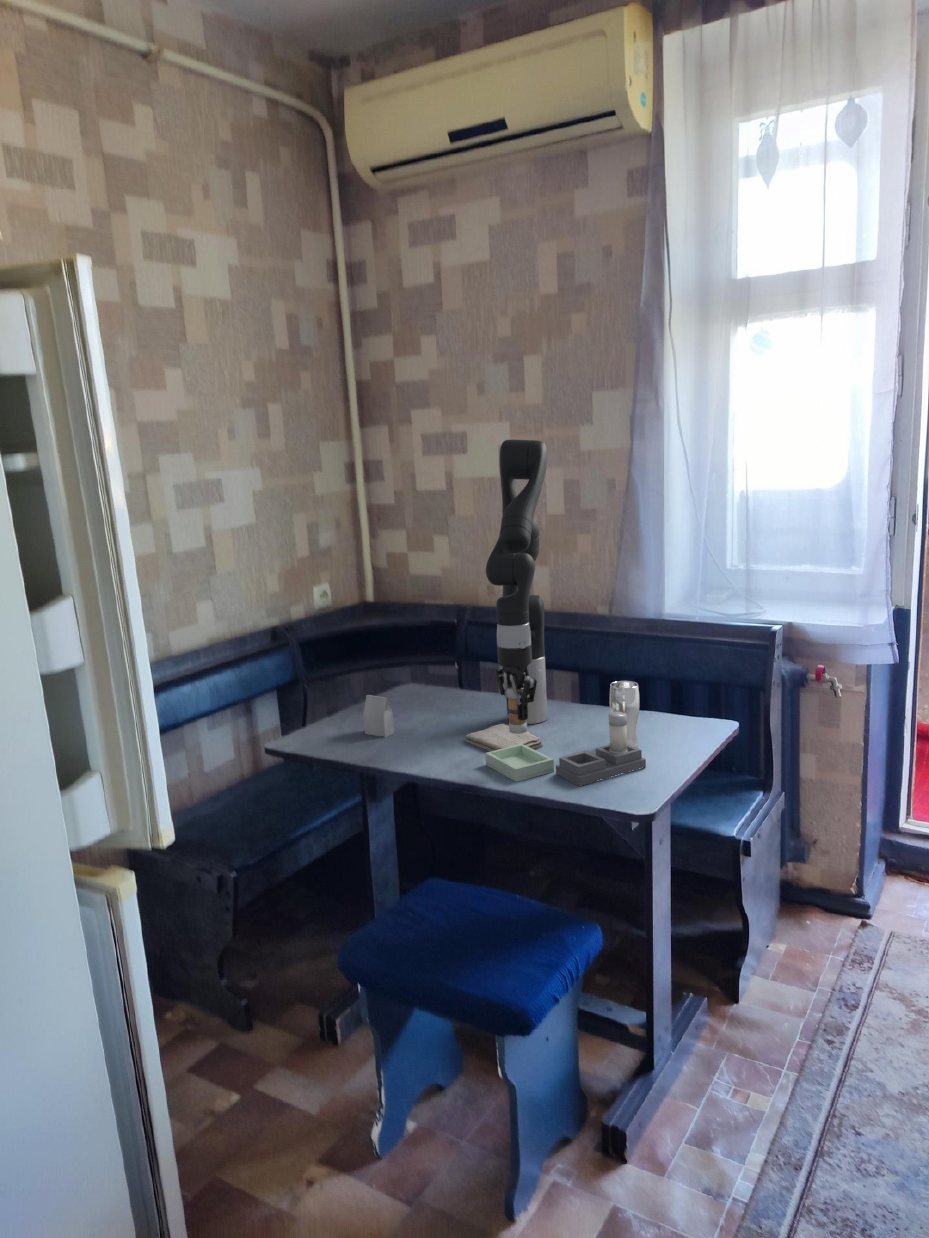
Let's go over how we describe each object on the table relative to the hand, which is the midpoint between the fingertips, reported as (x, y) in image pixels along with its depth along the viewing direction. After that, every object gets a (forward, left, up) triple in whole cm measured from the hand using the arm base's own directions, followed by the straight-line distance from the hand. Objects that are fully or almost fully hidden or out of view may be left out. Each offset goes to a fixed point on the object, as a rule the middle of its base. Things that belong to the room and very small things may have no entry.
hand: (517, 717), depth 203 cm
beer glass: (+2, +28, -12) cm, 31 cm away
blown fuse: (0, 0, -3) cm, 3 cm away
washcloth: (-16, +6, -13) cm, 22 cm away
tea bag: (-44, -15, -12) cm, 48 cm away
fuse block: (+12, +13, -12) cm, 22 cm away
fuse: (+12, +18, -10) cm, 24 cm away
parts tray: (0, 0, -12) cm, 12 cm away
